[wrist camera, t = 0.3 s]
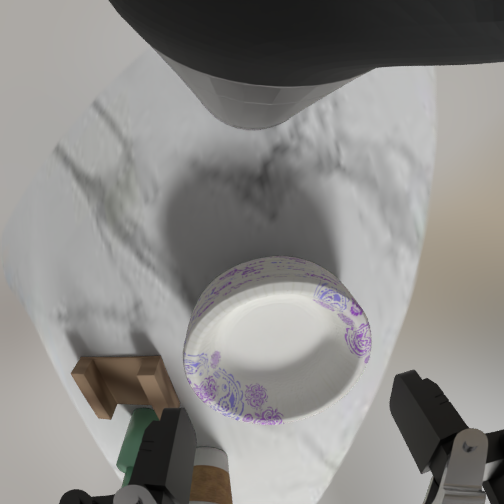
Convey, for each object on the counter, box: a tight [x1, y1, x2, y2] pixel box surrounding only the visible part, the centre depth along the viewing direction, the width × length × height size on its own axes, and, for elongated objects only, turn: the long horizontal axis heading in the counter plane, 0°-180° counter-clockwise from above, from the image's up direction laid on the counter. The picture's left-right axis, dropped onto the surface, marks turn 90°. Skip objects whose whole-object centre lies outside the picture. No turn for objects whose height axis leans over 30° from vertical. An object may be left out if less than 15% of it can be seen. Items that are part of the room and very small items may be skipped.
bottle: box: [116, 408, 160, 487], centre depth 27 cm, size 5×5×15 cm
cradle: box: [71, 356, 180, 420], centre depth 30 cm, size 8×11×3 cm
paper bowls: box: [183, 256, 371, 425], centre depth 25 cm, size 15×15×8 cm
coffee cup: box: [189, 447, 233, 504], centre depth 30 cm, size 8×8×15 cm
